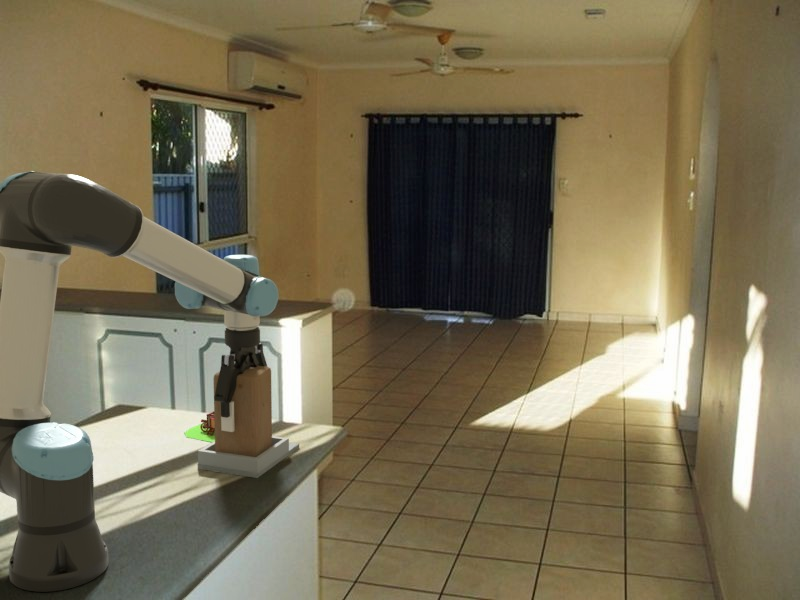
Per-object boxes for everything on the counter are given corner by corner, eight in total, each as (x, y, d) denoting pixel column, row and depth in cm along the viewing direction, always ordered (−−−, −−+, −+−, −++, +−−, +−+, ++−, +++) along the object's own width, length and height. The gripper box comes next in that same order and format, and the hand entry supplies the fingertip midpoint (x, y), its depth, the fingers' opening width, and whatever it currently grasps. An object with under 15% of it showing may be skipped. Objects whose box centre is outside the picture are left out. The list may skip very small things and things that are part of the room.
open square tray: (257, 478, 182) (257, 455, 181) (197, 468, 186) (197, 446, 185) (299, 447, 200) (298, 427, 199) (243, 440, 205) (243, 419, 204)
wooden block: (257, 467, 185) (255, 377, 181) (213, 463, 187) (211, 373, 183) (273, 451, 194) (272, 365, 191) (232, 448, 196) (230, 362, 193)
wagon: (225, 447, 201) (224, 421, 200) (175, 436, 208) (174, 412, 207) (263, 429, 215) (262, 405, 214) (215, 420, 221) (214, 397, 220)
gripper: (227, 340, 173) (229, 441, 176) (284, 317, 196) (285, 407, 200) (195, 336, 175) (197, 436, 179) (255, 315, 198) (256, 404, 202)
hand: (243, 421), depth 189 cm, fingers open, 13 cm apart
